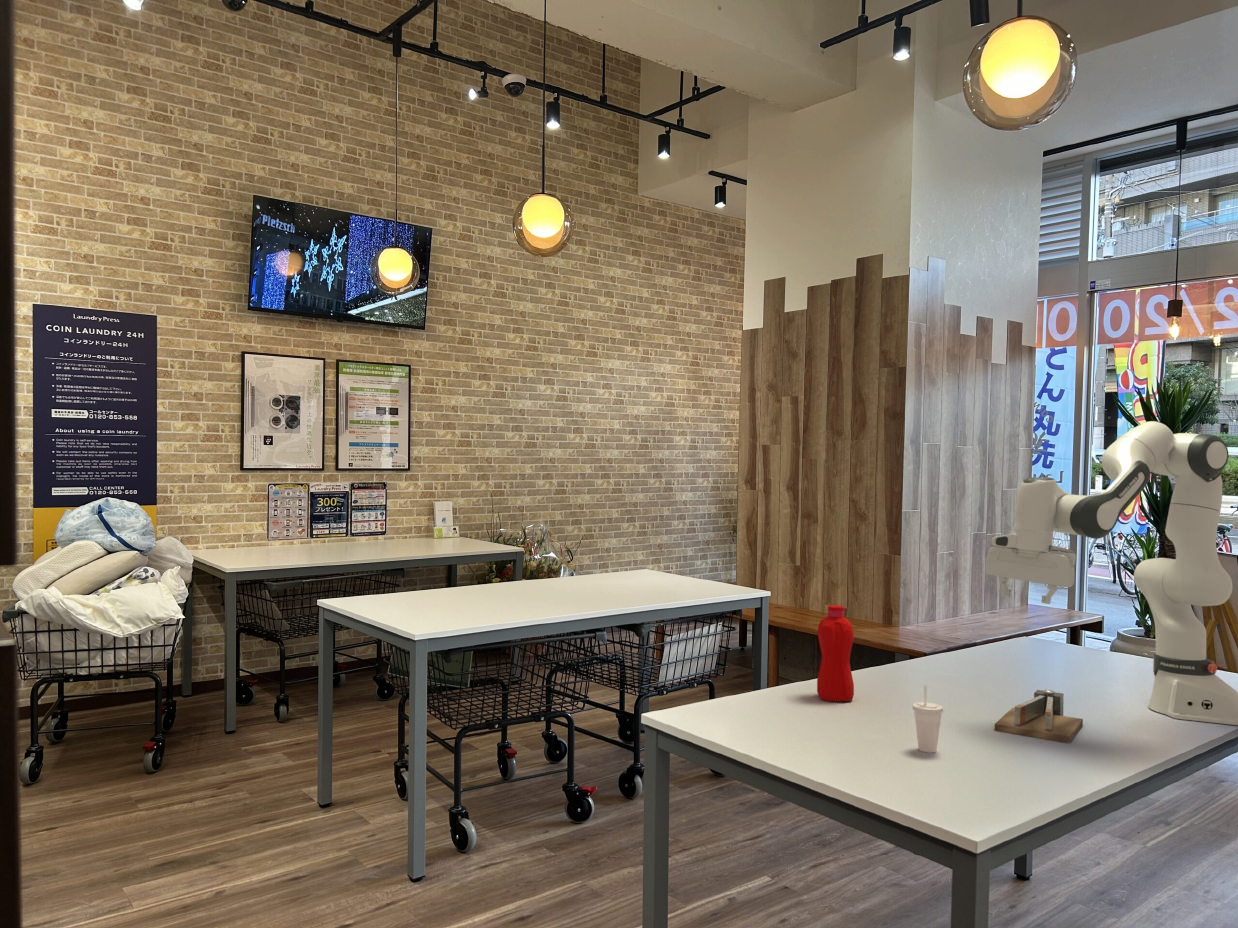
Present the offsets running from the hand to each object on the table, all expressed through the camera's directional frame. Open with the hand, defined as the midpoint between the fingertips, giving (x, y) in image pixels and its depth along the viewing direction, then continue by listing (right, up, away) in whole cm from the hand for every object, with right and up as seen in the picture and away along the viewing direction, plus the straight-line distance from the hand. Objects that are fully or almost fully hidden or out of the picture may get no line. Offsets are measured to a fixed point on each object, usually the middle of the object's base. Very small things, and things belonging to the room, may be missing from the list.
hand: (1025, 599), depth 213 cm
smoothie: (-31, -30, -20) cm, 47 cm away
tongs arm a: (+5, -29, -2) cm, 29 cm away
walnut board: (+2, -30, -2) cm, 30 cm away
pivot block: (+9, -31, +7) cm, 33 cm away
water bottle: (-40, -30, +25) cm, 56 cm away
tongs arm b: (+1, -29, 0) cm, 29 cm away
